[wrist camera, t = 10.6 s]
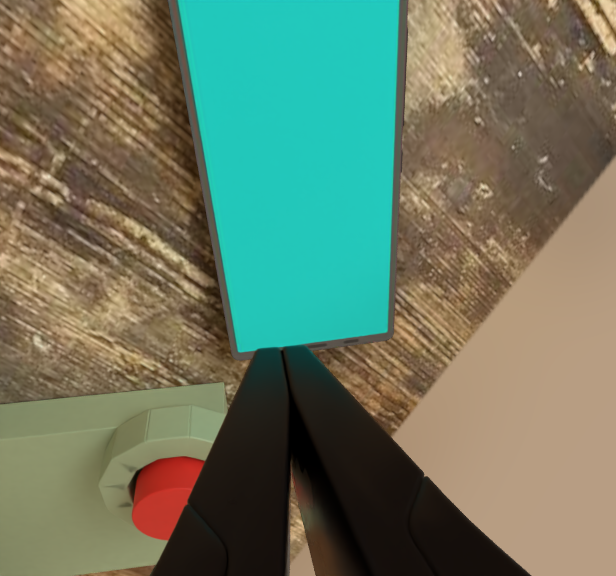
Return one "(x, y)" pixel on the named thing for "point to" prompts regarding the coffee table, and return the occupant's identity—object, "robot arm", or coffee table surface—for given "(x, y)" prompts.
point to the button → (163, 494)
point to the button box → (92, 474)
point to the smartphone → (298, 162)
